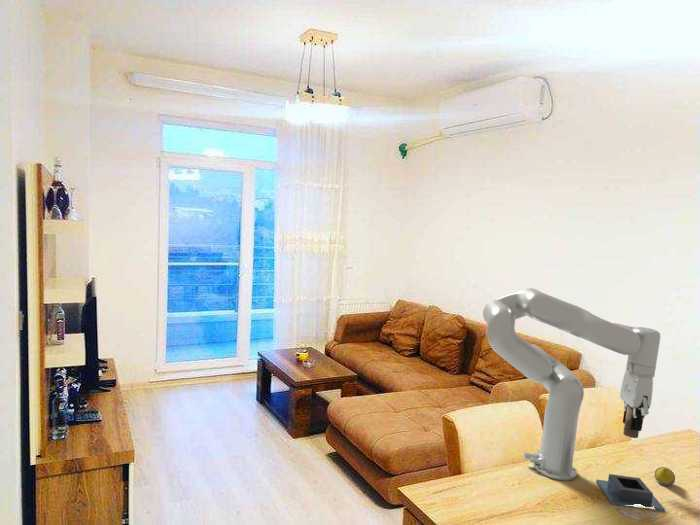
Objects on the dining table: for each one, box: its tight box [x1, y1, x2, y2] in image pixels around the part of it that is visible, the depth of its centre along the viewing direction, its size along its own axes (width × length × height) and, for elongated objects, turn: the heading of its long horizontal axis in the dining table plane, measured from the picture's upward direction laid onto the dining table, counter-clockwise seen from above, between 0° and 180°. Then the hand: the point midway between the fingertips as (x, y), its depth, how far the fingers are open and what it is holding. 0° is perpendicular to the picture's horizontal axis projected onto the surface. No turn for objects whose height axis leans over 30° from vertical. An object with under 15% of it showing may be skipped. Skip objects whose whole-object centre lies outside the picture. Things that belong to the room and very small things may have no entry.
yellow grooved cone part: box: [654, 466, 676, 487], centre depth 154 cm, size 5×5×10 cm
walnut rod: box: [622, 405, 642, 439], centre depth 154 cm, size 4×4×10 cm
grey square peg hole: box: [595, 473, 665, 512], centre depth 146 cm, size 14×12×4 cm
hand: (631, 426), depth 154 cm, fingers closed on walnut rod, 4 cm apart
